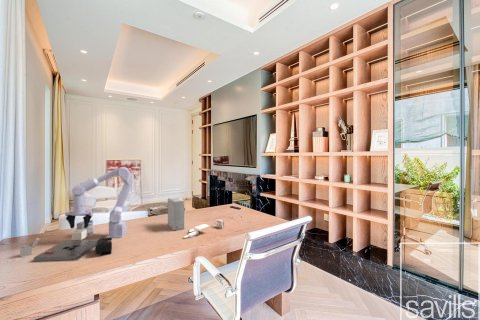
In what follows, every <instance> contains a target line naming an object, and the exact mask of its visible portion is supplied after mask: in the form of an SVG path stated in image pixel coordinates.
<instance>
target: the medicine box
mask: <svg viewBox="0 0 480 320" xmlns="http://www.w3.org/2000/svg"><path fill="white" fill-rule="evenodd" d="M81 229H87V236H89V235H92V234H93V233H94V220H93V219H90V221H89V224H88V227H87V228H84V220H82V221H79V222H77V223H76V230H81Z"/></svg>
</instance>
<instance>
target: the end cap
mask: <svg viewBox="0 0 480 320" xmlns="http://www.w3.org/2000/svg"><path fill="white" fill-rule="evenodd" d="M97 240H98V241H97V244H96V247H95V248H94V252H95V253H96V255H98V256H100V257H104V256H108V255H109V256H110V255H111V254H112V250H113V242H112V241H113V238H112V237H110V238H106V237H105V238H104V236H101V237H100V238H98V239H97Z"/></svg>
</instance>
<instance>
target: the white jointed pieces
mask: <svg viewBox="0 0 480 320" xmlns="http://www.w3.org/2000/svg"><path fill="white" fill-rule="evenodd" d="M213 225H216V228H219V229H221V230H224V229H225V221H224V220H222V219H219V218H218V219H216V221H213ZM208 227H210V225H209V224H205V223H203V224H200V225H197V226H194V228H195V229H197V230H195V231H194V228H190V229H188V234H187V235H185V236H183V239H188V238H189V239H190V238H192V237H193V238H194V237H196V236H198V235H199V231H200V230H203V229H205V228H208ZM198 230H199V231H198Z"/></svg>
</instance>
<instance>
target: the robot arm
mask: <svg viewBox="0 0 480 320" xmlns="http://www.w3.org/2000/svg"><path fill="white" fill-rule="evenodd" d="M113 177H114V178H116V177H120V178H121V179H122V181H123V182H124V183H123V185H122V188H121V191H120V192H119V196H118V198H117V201H116V203H115V206H114V207H113V209H112V211H111V212H110V213H109V217H108V218H109V221H108V235H107V236H105V238H110V237H112V239H113V238H123V237H124V236H125V235H126V234H127V222H126V221H123V219H122V212H123V208H124V205H125V204H126V201H127V198H128V195H129V193H130V191H131V188H132V185H133V183H134V181H133V177H132V174H131V172H130V170H129V169H128V167H125V166H121V167H119V168H115V169H113V170H109V171H108V172H106V173H104V174H103V175H100V176H99V177H97V178H96V177H92V178H91V177H90V178H88V179H87V180H85V181H83V182H80V183H79V184H77V185H75V186H74V187H73V188H72V191H71V192H72V194H73V195H72V196H73V197H72V211H68V212H65V213H64V217H65V219H66V221H67V223H68V224H69V227H70V229H74V228H75V227H76V225H75V220H76V217H78V216H79V217H81V216H83V217H82V218H83V219H82V220H83V221H84V228H87V227H88V224H89V221H90V220H92V217H93V216H94V211H88V210H87V211H86V195H85V192H89V191H91V190H92V189H95V188H96V187H98V186H99V185H100V183H102V182H104V181H107V180H108V179H111V178H113Z"/></svg>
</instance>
